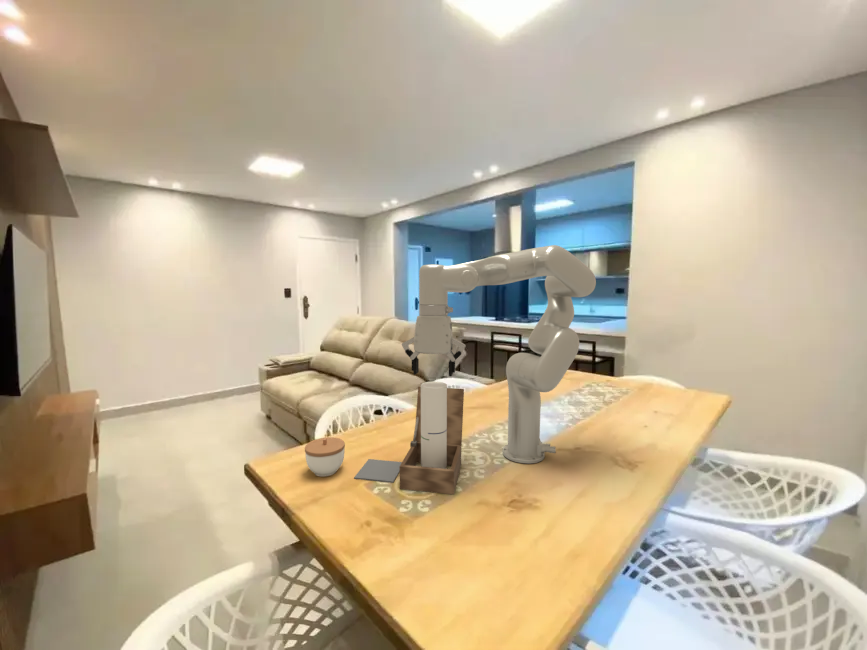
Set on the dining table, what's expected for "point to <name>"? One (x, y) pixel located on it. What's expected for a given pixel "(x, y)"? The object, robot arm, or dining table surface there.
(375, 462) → the mat
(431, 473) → the case
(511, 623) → the dining table surface
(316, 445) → the lidded jar
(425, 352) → the robot arm
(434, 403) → the cylindrical container
